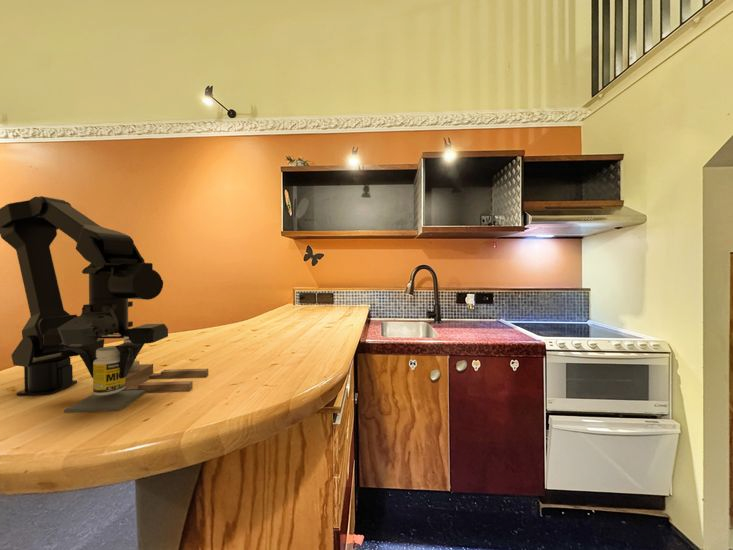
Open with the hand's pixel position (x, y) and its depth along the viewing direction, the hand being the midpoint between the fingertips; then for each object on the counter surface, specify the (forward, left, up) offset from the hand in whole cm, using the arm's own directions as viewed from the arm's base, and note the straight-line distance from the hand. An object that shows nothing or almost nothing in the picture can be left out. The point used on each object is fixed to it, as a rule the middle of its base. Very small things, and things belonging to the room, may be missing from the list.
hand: (109, 377), depth 58 cm
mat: (0, 0, -4) cm, 4 cm away
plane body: (+5, +8, -4) cm, 11 cm away
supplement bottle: (0, 0, -3) cm, 3 cm away
